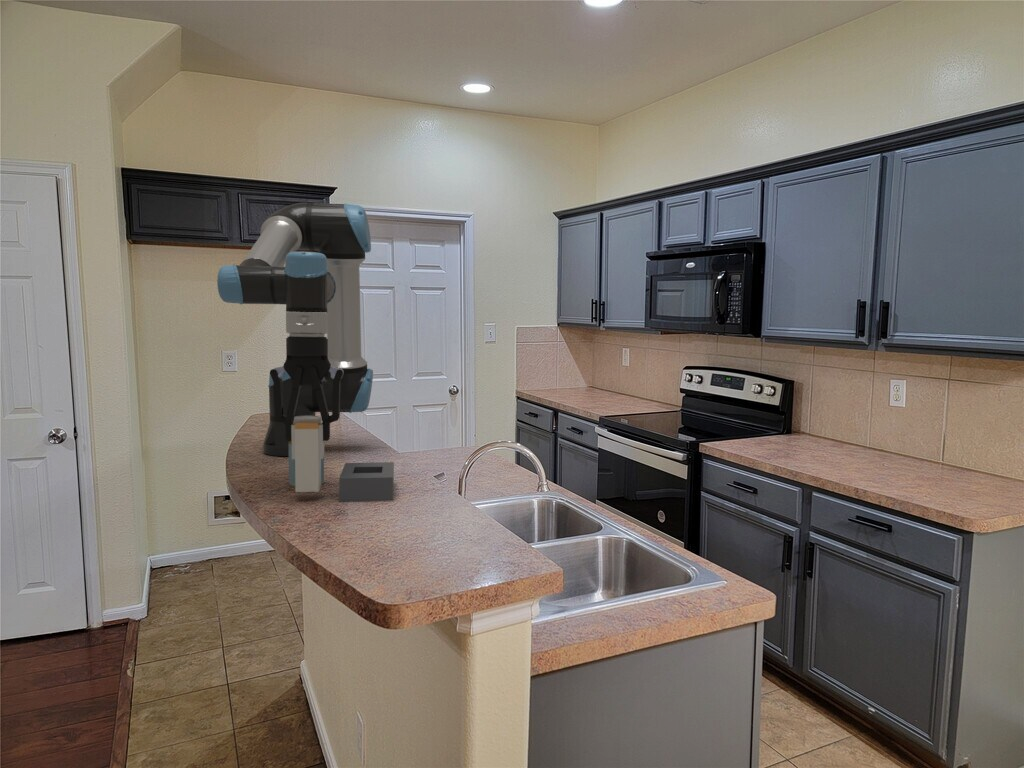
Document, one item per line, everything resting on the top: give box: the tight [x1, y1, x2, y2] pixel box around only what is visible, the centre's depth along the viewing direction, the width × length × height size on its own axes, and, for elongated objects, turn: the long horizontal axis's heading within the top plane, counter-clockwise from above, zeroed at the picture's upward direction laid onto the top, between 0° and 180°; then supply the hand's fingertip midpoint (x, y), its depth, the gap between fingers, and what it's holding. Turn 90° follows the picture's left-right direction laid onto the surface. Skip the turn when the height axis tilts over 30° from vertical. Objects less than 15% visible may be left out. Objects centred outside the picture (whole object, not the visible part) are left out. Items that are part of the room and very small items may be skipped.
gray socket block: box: [338, 461, 395, 503], centre depth 135 cm, size 14×10×6 cm
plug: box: [294, 420, 322, 493], centre depth 129 cm, size 4×4×13 cm
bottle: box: [288, 415, 325, 488], centre depth 140 cm, size 7×7×15 cm
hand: (308, 457), depth 129 cm, fingers closed on plug, 4 cm apart
